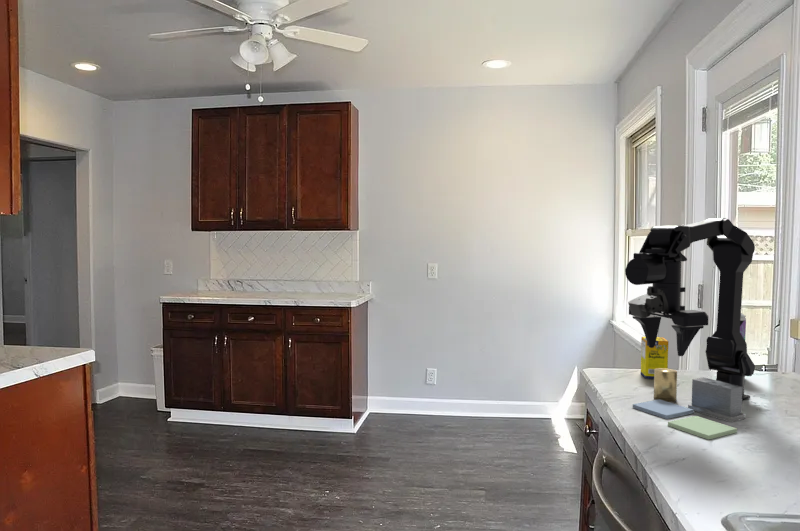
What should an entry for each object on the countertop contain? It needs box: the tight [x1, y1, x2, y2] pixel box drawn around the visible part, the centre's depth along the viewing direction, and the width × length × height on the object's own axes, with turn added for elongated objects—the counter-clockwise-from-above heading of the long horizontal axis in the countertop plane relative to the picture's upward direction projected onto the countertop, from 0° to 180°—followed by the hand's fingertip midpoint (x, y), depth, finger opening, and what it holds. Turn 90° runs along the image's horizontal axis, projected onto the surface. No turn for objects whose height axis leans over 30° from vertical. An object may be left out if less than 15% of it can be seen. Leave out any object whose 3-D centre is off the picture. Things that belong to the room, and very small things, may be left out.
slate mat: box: [632, 399, 695, 420], centre depth 128 cm, size 9×9×1 cm
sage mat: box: [667, 415, 738, 440], centre depth 115 cm, size 9×9×1 cm
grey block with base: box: [687, 377, 746, 423], centre depth 125 cm, size 5×10×7 cm, turn 27°
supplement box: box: [640, 336, 669, 380], centre depth 158 cm, size 6×6×11 cm
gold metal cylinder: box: [653, 368, 678, 403], centre depth 137 cm, size 5×5×7 cm
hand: (665, 351), depth 126 cm, fingers open, 9 cm apart
